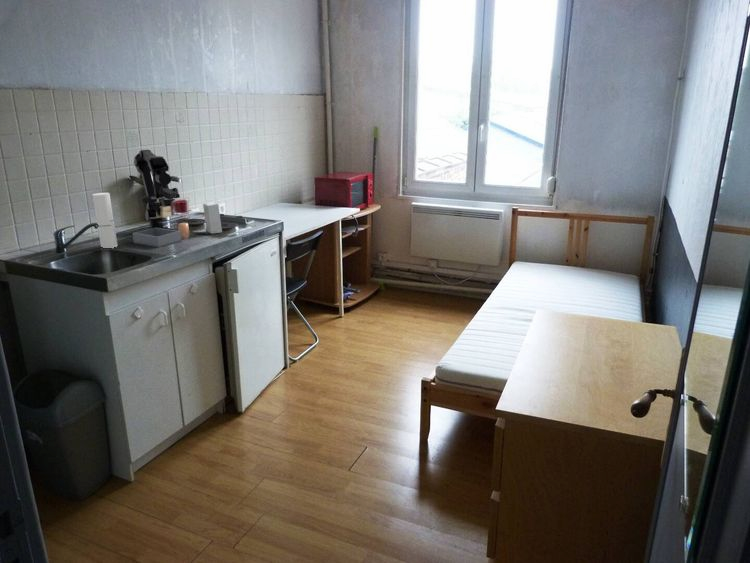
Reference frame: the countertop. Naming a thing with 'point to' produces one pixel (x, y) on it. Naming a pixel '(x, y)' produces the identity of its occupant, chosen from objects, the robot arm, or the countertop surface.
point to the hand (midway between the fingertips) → (163, 214)
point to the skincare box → (212, 218)
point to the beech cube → (164, 212)
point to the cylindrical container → (105, 220)
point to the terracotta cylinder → (184, 230)
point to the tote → (157, 237)
